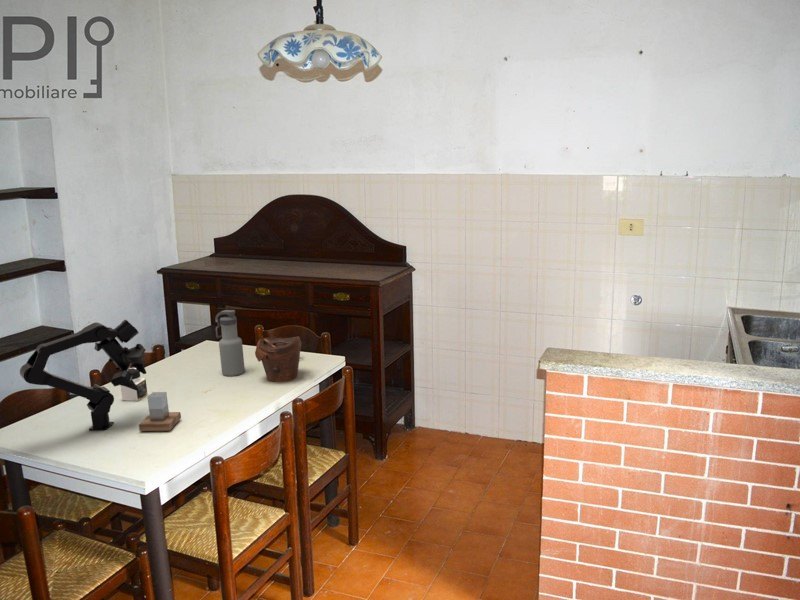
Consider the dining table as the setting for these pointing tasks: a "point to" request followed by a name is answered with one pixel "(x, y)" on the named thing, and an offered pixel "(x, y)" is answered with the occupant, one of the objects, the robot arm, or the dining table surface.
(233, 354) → the water bottle
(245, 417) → the dining table surface
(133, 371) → the medicine bottle
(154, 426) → the walnut stand
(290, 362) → the case
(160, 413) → the block
